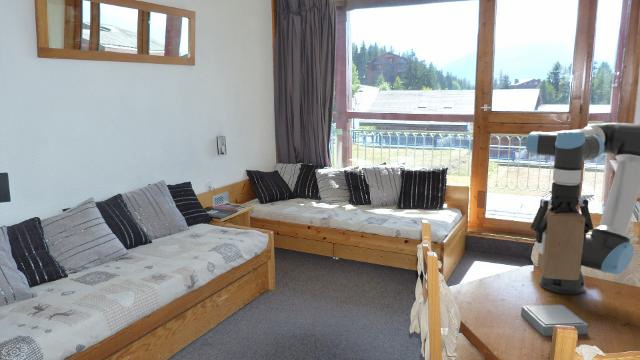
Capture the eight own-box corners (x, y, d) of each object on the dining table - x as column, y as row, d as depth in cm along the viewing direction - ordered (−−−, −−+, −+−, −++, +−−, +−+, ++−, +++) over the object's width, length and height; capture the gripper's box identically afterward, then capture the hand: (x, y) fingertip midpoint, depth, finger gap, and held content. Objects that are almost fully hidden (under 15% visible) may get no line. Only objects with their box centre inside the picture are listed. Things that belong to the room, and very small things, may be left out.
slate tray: (561, 313, 163) (562, 303, 163) (587, 333, 150) (588, 324, 149) (520, 314, 162) (521, 305, 162) (543, 335, 149) (543, 325, 148)
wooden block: (579, 281, 147) (586, 217, 143) (544, 279, 149) (549, 215, 145) (570, 269, 157) (576, 208, 153) (536, 267, 158) (541, 207, 155)
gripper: (596, 179, 152) (588, 247, 156) (521, 180, 150) (516, 249, 154) (612, 184, 144) (603, 255, 149) (534, 185, 143) (528, 257, 147)
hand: (559, 252), depth 151 cm, fingers closed on wooden block, 11 cm apart
